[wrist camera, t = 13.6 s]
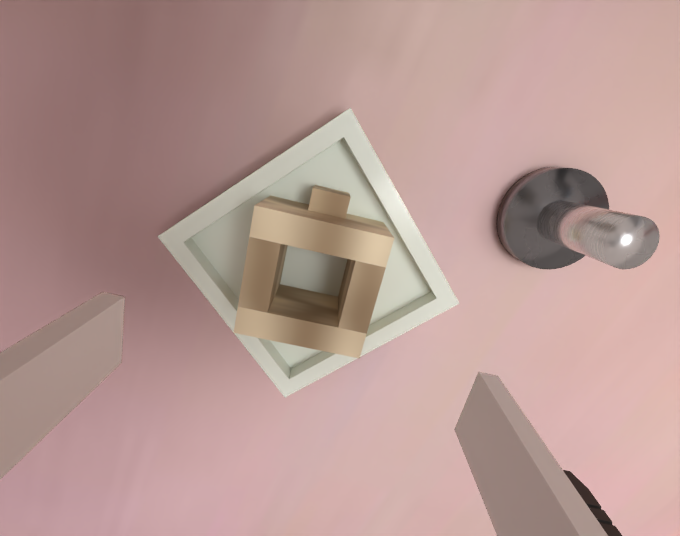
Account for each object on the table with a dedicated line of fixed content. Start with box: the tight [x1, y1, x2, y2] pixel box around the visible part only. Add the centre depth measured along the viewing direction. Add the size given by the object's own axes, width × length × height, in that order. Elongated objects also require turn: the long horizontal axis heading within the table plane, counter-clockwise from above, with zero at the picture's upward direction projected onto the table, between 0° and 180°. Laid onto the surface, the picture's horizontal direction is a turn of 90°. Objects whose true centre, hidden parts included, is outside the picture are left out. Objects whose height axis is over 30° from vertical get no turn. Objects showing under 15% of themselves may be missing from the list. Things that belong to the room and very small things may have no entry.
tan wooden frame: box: [234, 185, 394, 358], centre depth 23 cm, size 8×9×5 cm
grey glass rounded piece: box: [497, 167, 659, 269], centre depth 22 cm, size 7×7×8 cm
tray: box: [158, 108, 459, 397], centre depth 26 cm, size 15×15×2 cm
